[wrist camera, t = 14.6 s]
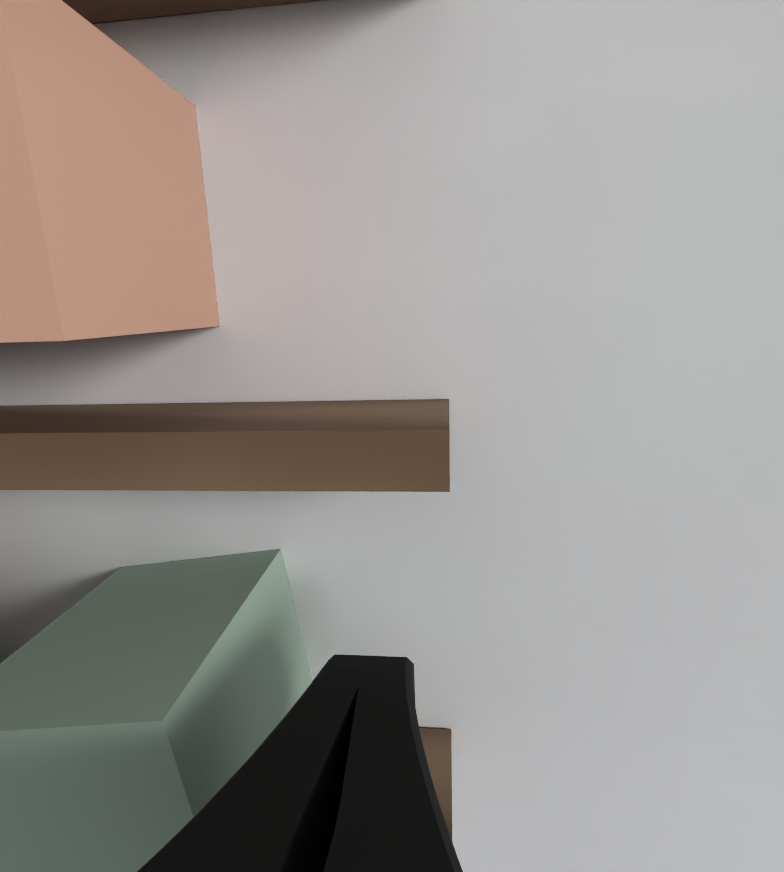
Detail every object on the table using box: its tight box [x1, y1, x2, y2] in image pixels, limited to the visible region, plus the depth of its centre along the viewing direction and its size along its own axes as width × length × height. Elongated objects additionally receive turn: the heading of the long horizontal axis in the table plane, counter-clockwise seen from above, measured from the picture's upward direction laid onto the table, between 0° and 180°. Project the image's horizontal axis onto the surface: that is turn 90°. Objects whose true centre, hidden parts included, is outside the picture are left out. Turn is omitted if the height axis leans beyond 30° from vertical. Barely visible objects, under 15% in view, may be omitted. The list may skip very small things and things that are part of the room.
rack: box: [0, 0, 452, 841], centre depth 10 cm, size 17×13×3 cm
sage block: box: [0, 549, 312, 872], centre depth 10 cm, size 4×4×5 cm
